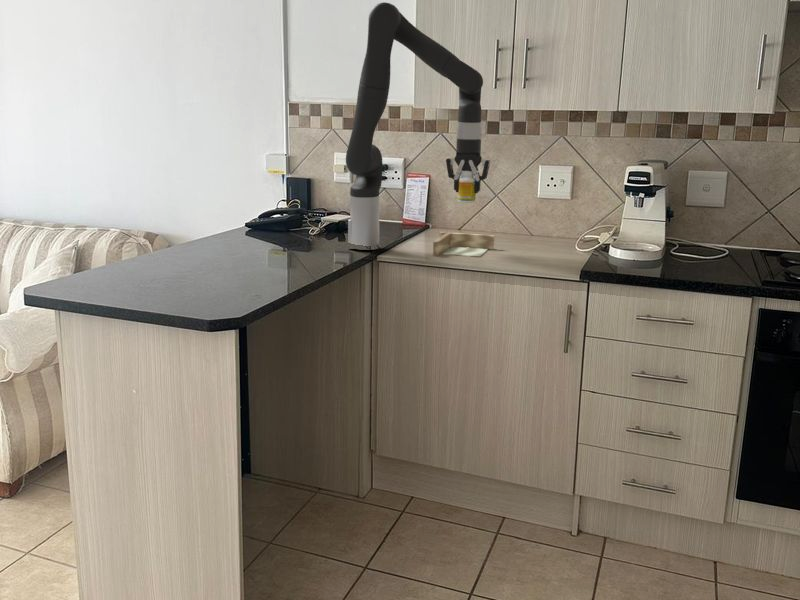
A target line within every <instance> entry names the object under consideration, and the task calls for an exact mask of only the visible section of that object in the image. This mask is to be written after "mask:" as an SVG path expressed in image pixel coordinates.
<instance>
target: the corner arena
mask: <svg viewBox="0 0 800 600" xmlns="http://www.w3.org/2000/svg"><path fill="white" fill-rule="evenodd" d="M432 245H433V247H432V256H433V257H438V256H440V255H441V254H442V255H445V256H456V257H457V256H458V257H461V256H462V257H469V256H471V257H470V258H482V256H483V255H484V254H485V253H487V252H488V249H489V251H491V250H492V251H493V250H495V248H494V247H495V235H493V234H480V233H478V234H477V233H462V232H447V231H439V237H438V238H437V239H435V240H434V241H433V244H432ZM466 247H469V248H466Z"/></svg>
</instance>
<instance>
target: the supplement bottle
mask: <svg viewBox="0 0 800 600" xmlns="http://www.w3.org/2000/svg"><path fill="white" fill-rule="evenodd" d="M475 181H476V179H475V176H474V174H473V172H472V171H468V170H466V171H461V176H460V178H459V189H458V192H457V193H458V195H457V201H458V202H459V203H462V204H463V203H464V204H471V203H475V202H476V194H477V193H475Z"/></svg>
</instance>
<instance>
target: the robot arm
mask: <svg viewBox="0 0 800 600" xmlns="http://www.w3.org/2000/svg"><path fill="white" fill-rule="evenodd" d="M367 27H368V29H367V30H368V31H367V41H366V42H367V43H366V52H365V56H364V61H363V65H362V67H361V73H360V78H359V83H358V88H357V89H358V90H357V95H356V97H357V99H356V106H355V111H354V119H353V124H352V129H351V130H352V131H351V134H350V138H349V142H348V145H347V149H346V154H345V164H346V167H347V169H348V170H347V171H349V172H350V173H351V174H352V175H355V180H354V181H353V184H352V185H351V186H350V188H349V190H350V191H349V192H350V193H349V196H350V200H349V201H350V202H349V203H350V204H349V206H350V207H349V208H350V209H349V210H350V216H349V217H350V219H348V220H347V229H348V230H347V236H348V237H347V239H348V243H351V244H355V245H363V246H374V245H378V244H379V245H380V191H381V190H380V189H381V187H382V182H383V181H382V180H383V156H382V153H381V149H379V148H378V146H376V145H374V144H373V140H374V139H373V138H374V136H375V135H374V134H375V131H376V128H377V126H378V124H379V122H380V120H381V117H382V116H383V114H384V112H385V109H386V107H387V104H388V99H389V93H390V83H391V54H392V50H393V44H394V41H396V42H398V43H399V44H401V45H403V46H404V48H405V47H406V48H407V49H408V50H409V51H411V52H412V54H414V55H415V56H416V57H418V58H419V59H420V60H421V61H422V62H423V63H425V64H426V65H427V66H428V67H430V68H431V69H432V70H434V71H435V72H437V74H439V75H441V76H442V77H444V78H446V79H447V80H449V81H450V82H451V83H453V84H454V85H455V86H456V87H458V99H459V100H458V101H459V102H458V103H459V105H458V112H457V115H458V116H457V128H456V150H455V156H454V157H452V158H451V157H448V158H446V159H445V162H446V169H447V176H448V178H450V179H452V180H453V190H454V191H455V193H458V189H459V178H461V177H462V175H461V171H466V170H468V171H472V172H473V174H474V176H473V177H474V178H475V179H476V181H475V193H476V194H479V192H480V191H481V182H482V181H483V180H486V179H487V178H488V174H489V170H490V165H491V160H490V159H484V158H482V155H481V153H482V138H483V137H482V136H483V135H482V105H481V99H482V87H483V85H484V78H483V76H482V74H481V73H480V72H479V71H478V70H477V69H475V68H473V67H472V66H470V65H469V64H467V63H466V62H464V61H462V60H460V58H458V57H457V56H456V55H455V54H454V53H452V51H450V50H448V49H447V48H446V47H445V46H443V44H440V43H439V42H437V41H435V40H434V39H433V38H431V37H430V36H428V35H426V34H425V33H424V32H423V31H421V30H419V29H418V28H417V27H416V26H415V25H413V24H412V23H411V22H410V21H409V20H408V19H407V18H406V17H405V16H404V15H403V14H402V13H401V11H400V10H399V9H398V8H397V7H396V6H395V5H394V4H392V3H391V2H379V3H377V4H375V5H374V6H373V7H372V8H371V9H370V12H369V14H368V25H367ZM455 163H456V165H457V169H456V173H455V172H454V167H453V165H454V164H455ZM480 164H481V165H482V166H483V170H482V173H481V174H480V169H479V165H480Z"/></svg>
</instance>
